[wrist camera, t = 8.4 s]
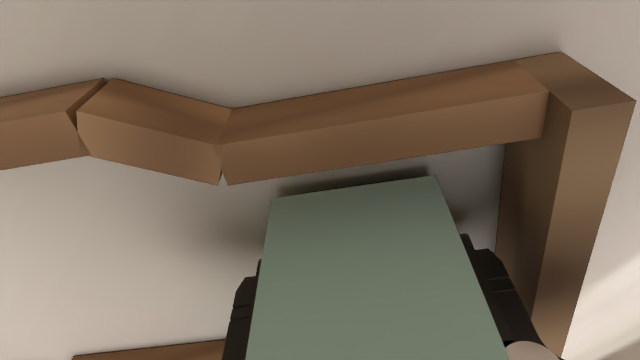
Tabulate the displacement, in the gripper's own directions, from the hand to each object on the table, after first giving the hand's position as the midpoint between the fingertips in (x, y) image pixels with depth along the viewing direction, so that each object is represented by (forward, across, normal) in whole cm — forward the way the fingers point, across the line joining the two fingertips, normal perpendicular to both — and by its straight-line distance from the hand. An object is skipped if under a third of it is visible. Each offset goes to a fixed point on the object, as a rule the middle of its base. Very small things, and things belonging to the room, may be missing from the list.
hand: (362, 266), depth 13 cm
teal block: (+1, 0, 0) cm, 1 cm away
